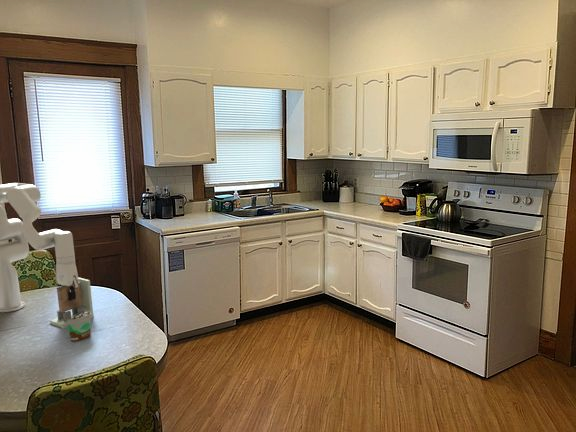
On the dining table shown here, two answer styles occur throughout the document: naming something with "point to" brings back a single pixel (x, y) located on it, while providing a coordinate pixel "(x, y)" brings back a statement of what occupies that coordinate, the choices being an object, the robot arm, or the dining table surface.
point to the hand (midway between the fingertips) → (70, 298)
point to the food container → (80, 326)
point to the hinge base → (87, 304)
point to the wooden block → (64, 300)
